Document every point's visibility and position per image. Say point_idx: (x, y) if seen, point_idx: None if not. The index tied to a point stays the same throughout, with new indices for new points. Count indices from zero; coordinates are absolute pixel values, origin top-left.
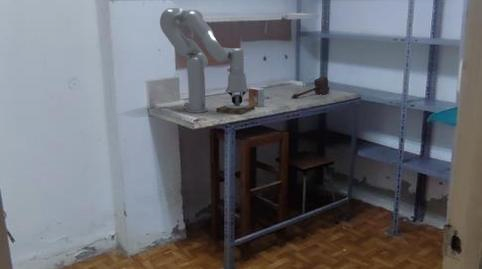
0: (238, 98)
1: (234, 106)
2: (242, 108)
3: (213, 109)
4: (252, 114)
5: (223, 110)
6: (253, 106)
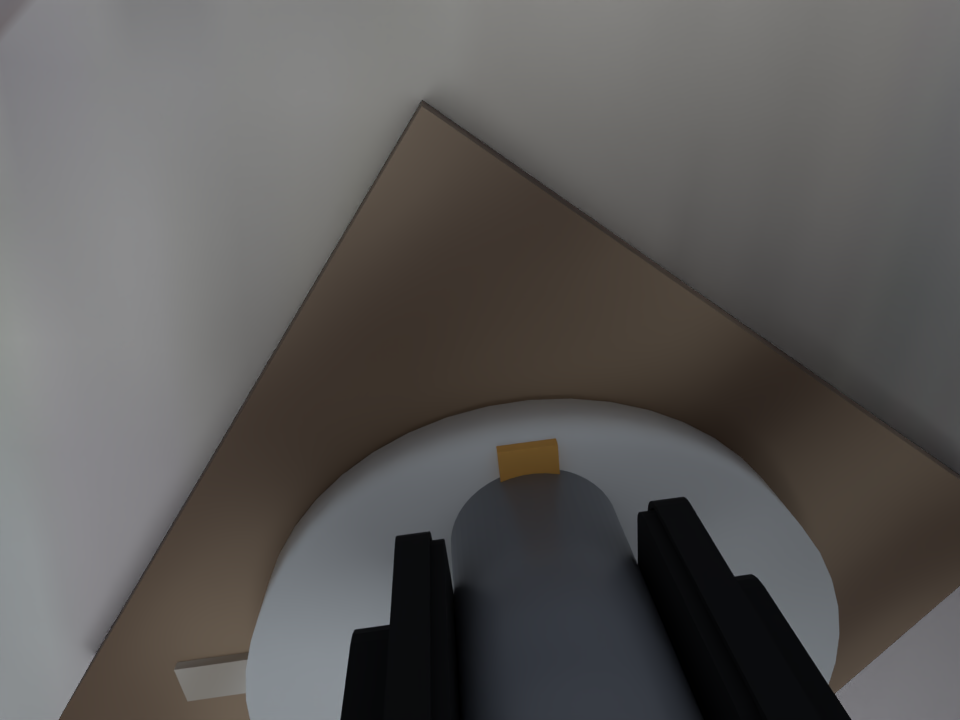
0: (534, 699)
1: (632, 439)
2: None
3: (939, 665)
4: (70, 80)
5: (872, 417)
6: (79, 686)
